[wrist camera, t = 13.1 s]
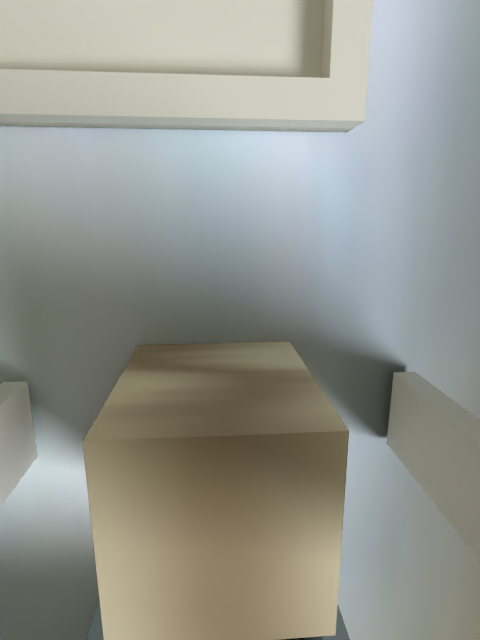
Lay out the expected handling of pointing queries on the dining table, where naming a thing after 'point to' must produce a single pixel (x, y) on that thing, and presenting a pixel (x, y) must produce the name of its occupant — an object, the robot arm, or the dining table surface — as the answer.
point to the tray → (185, 64)
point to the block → (217, 496)
